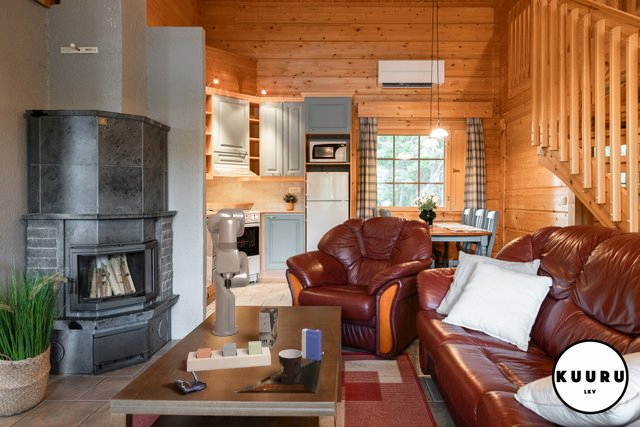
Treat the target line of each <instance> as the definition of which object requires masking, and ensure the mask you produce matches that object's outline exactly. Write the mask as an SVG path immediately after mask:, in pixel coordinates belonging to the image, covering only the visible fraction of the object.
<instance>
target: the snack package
mask: <svg viewBox="0 0 640 427" xmlns="http://www.w3.org/2000/svg"><path fill="white" fill-rule="evenodd" d="M187 373H190V374H191V375H192V377H193V380H191V381H183V380H181V379H177V378H175V377H174V376H173V375H172V374H171V377H172V379H173V380H174V383H175V384H176V385H177V386H178V388H179V389H180V390H182V391H183V392H184V393H185V394H188V393H190V392H191V391H194V392H195V393H196V392H200V391H203V390H204V389H206V388H207V383H206V382H202V381H199V380H198V375H197V374H196V372H195V371H193V370H192V371H188V372H187ZM183 382H186V383H187V384H189V386H190V387H189V386H188V387H189V388H188V389H186V388H187V387H186V386H185V385H184V386H183V384H184V383H183ZM186 383H185V384H186ZM187 384H186V385H187ZM185 387H186V388H185ZM191 387H192V388H191ZM190 388H191V389H190Z"/></svg>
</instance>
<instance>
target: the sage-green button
mask: <svg viewBox="0 0 640 427" xmlns="http://www.w3.org/2000/svg"><path fill="white" fill-rule="evenodd" d="M247 343H248V347H247V348H248V354H249V355H255V354H262V345H261V341H259V340H256V341H248V342H247Z"/></svg>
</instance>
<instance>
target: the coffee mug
mask: <svg viewBox="0 0 640 427" xmlns="http://www.w3.org/2000/svg"><path fill="white" fill-rule="evenodd" d="M278 360H279V367H280V368H279V370H280V377H281V378H280V379H281V383H282V384H285V385H296V384H299V382H300V377H301V373H302V360H303V358H302V350H300V349H299V350H298V349H291V348H290V349H284V350H281V351H279V352H278Z"/></svg>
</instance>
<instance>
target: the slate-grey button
mask: <svg viewBox="0 0 640 427" xmlns="http://www.w3.org/2000/svg"><path fill="white" fill-rule="evenodd" d="M236 349H237V343H236V342H225V343H224V342H223V348H222V350H223V357H226V356H236Z"/></svg>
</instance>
